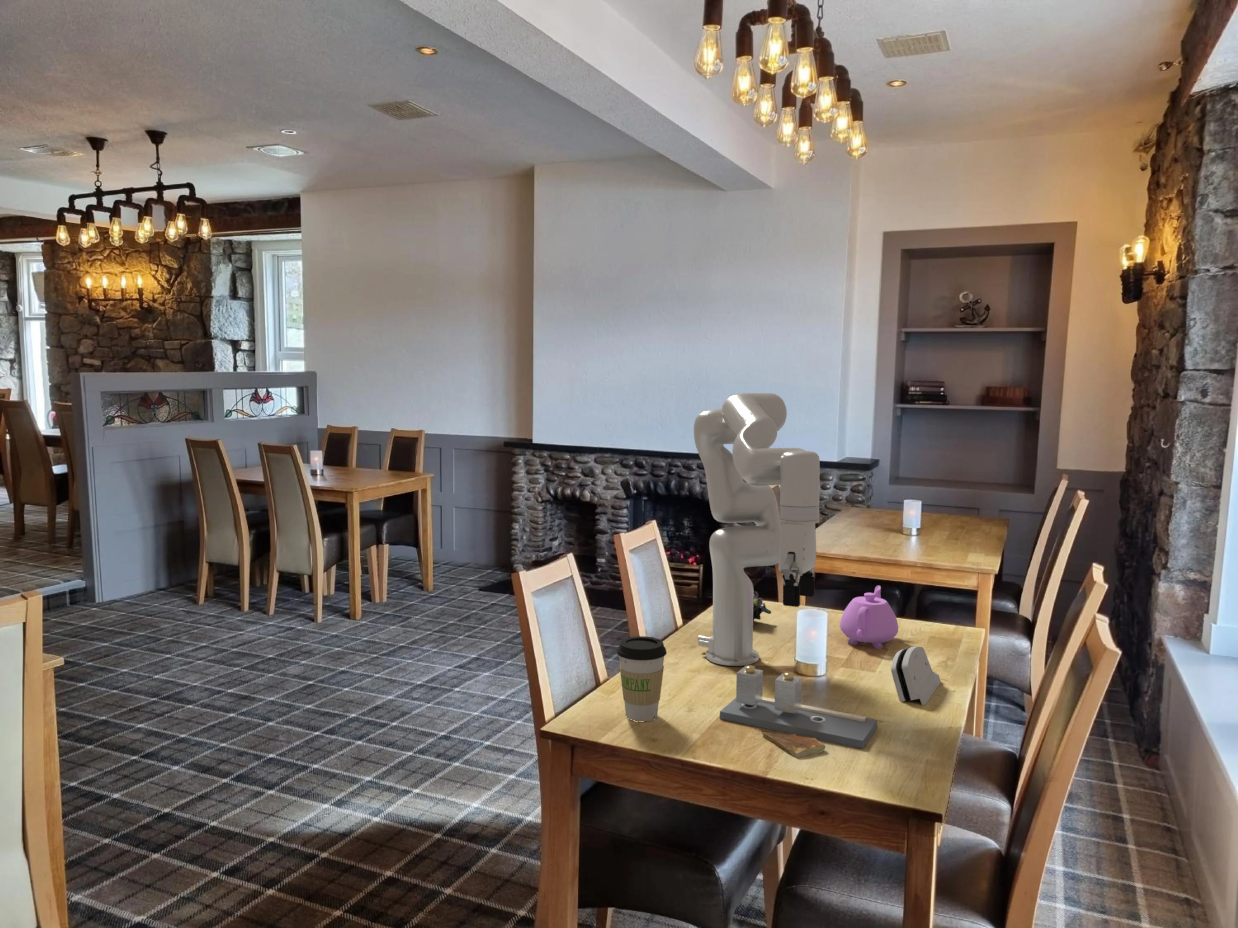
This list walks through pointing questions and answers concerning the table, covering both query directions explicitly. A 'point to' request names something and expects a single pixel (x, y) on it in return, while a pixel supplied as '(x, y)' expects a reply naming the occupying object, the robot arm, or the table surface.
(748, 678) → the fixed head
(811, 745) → the shard
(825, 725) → the hole plate
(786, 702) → the block
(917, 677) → the grey layered slab
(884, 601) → the teapot
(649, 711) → the coffee cup
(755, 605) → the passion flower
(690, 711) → the table surface
